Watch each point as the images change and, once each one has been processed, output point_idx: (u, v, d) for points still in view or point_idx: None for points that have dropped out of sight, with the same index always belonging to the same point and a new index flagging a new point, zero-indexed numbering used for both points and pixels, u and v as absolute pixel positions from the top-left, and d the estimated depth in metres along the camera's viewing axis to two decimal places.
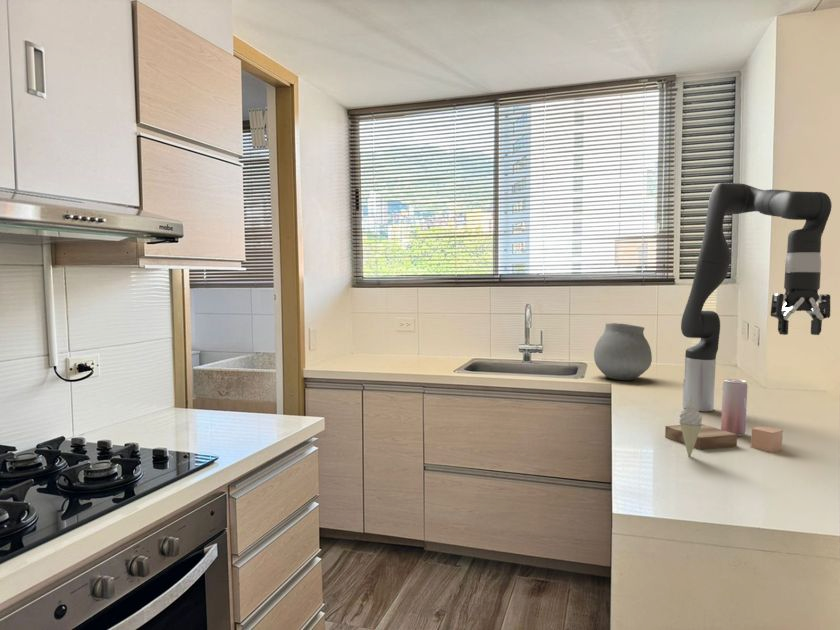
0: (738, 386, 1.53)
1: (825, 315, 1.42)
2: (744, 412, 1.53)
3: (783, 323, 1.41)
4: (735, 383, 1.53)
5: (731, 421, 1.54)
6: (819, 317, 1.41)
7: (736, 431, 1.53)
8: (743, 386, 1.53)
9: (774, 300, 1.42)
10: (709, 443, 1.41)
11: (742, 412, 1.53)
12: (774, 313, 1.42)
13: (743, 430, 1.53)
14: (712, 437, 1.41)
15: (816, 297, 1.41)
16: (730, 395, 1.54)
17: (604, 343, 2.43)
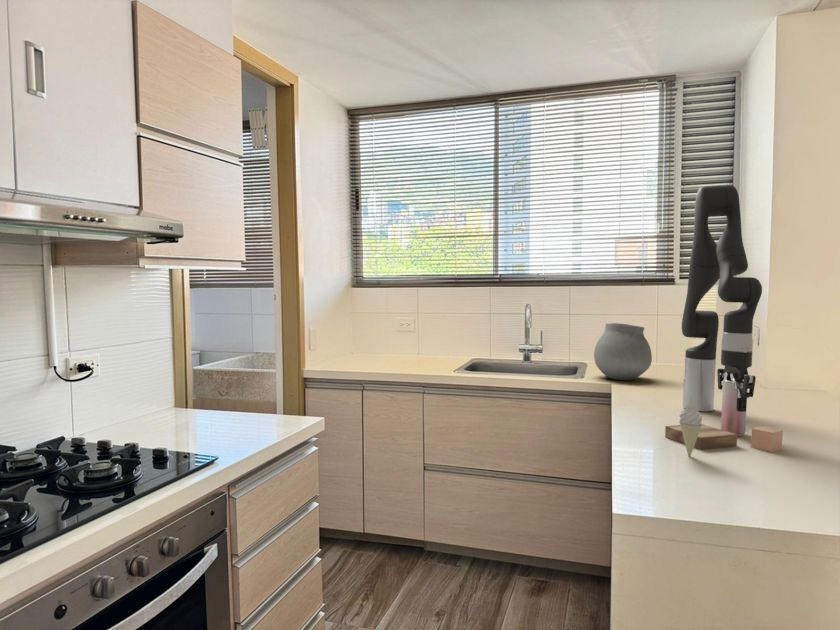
0: None
1: None
2: (744, 412, 1.53)
3: None
4: None
5: (731, 421, 1.54)
6: None
7: (736, 431, 1.53)
8: None
9: (749, 382, 1.49)
10: (709, 443, 1.41)
11: (742, 412, 1.53)
12: (748, 394, 1.50)
13: (743, 430, 1.53)
14: (712, 437, 1.41)
15: None
16: (730, 395, 1.54)
17: (604, 343, 2.43)
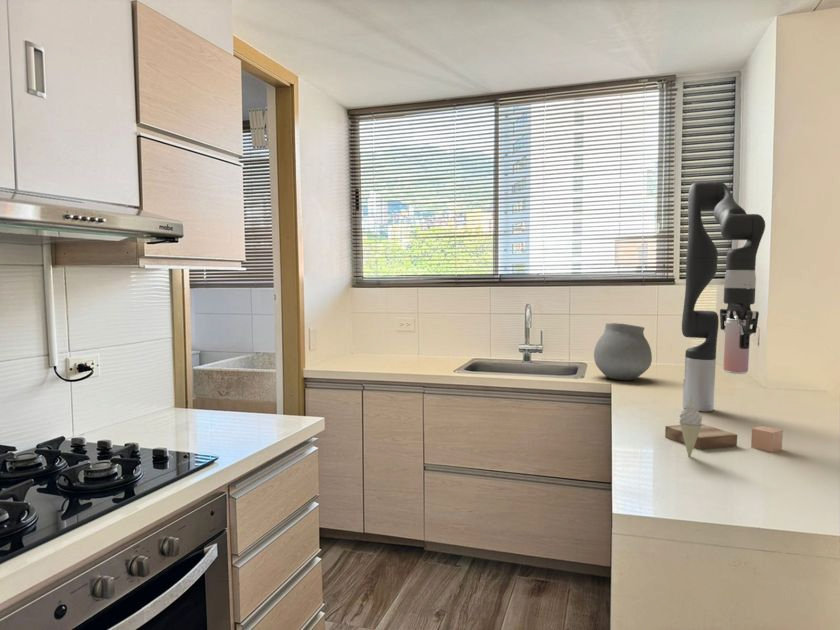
0: None
1: None
2: (747, 350, 1.52)
3: None
4: None
5: (734, 359, 1.53)
6: None
7: (739, 368, 1.52)
8: None
9: (752, 318, 1.48)
10: (709, 443, 1.41)
11: (744, 349, 1.52)
12: (751, 330, 1.49)
13: (746, 368, 1.53)
14: (712, 437, 1.41)
15: None
16: (733, 333, 1.53)
17: (604, 343, 2.43)
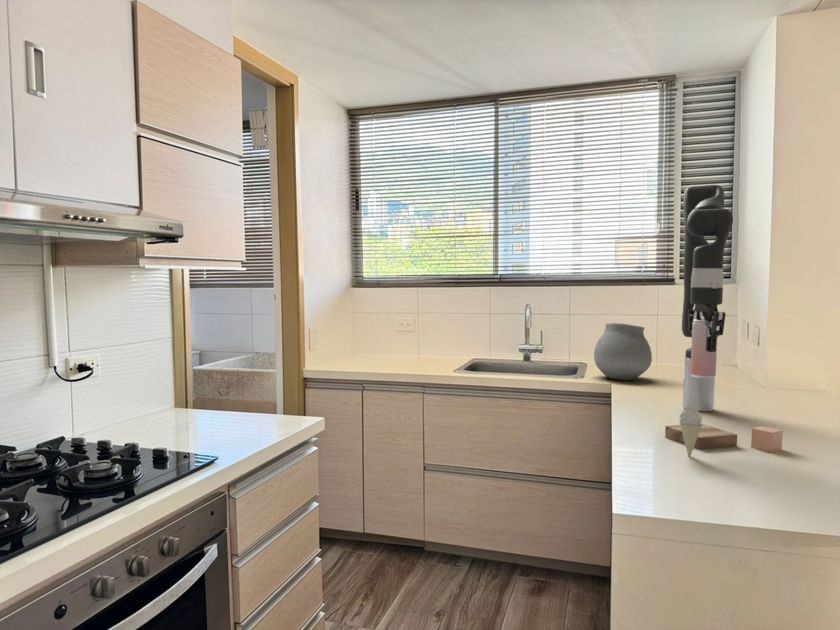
0: None
1: None
2: (714, 353, 1.44)
3: None
4: None
5: (701, 363, 1.44)
6: None
7: (706, 373, 1.44)
8: None
9: (718, 319, 1.39)
10: (709, 443, 1.41)
11: (711, 352, 1.43)
12: (718, 331, 1.40)
13: (713, 372, 1.44)
14: (712, 437, 1.41)
15: None
16: (700, 335, 1.44)
17: (604, 343, 2.43)
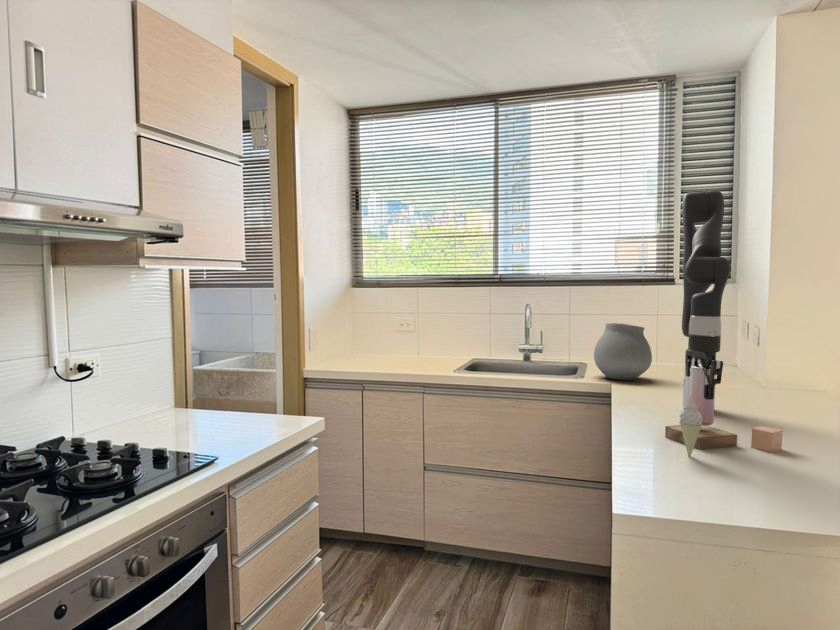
0: None
1: None
2: (712, 400, 1.44)
3: None
4: None
5: (699, 410, 1.45)
6: None
7: (704, 420, 1.44)
8: None
9: (716, 368, 1.40)
10: (709, 443, 1.41)
11: (709, 400, 1.44)
12: (716, 380, 1.41)
13: (711, 419, 1.45)
14: (712, 437, 1.41)
15: None
16: (697, 382, 1.45)
17: (604, 343, 2.43)
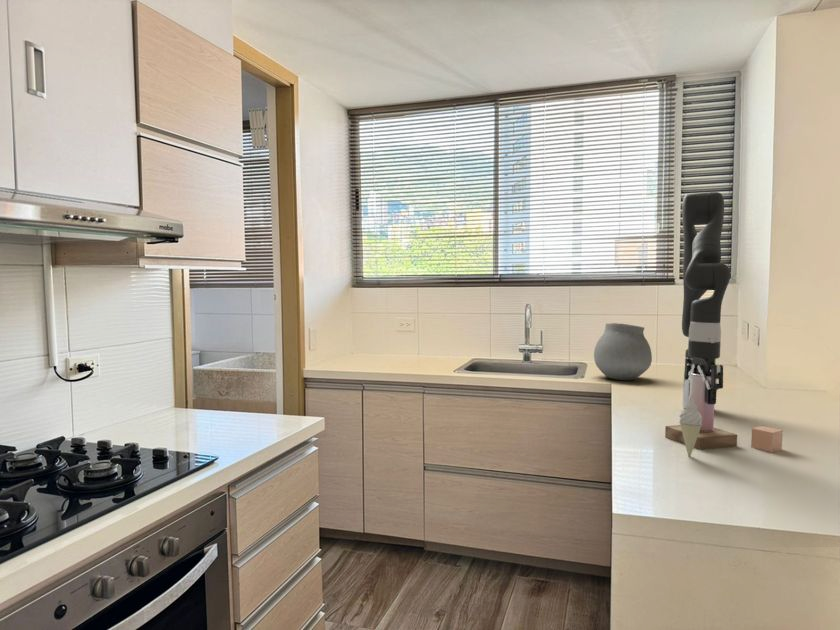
0: None
1: None
2: (712, 407, 1.45)
3: None
4: None
5: None
6: None
7: (704, 427, 1.44)
8: None
9: (717, 372, 1.40)
10: (709, 443, 1.41)
11: (709, 407, 1.44)
12: (718, 385, 1.40)
13: (711, 426, 1.45)
14: (712, 437, 1.41)
15: None
16: (697, 389, 1.45)
17: (604, 343, 2.43)
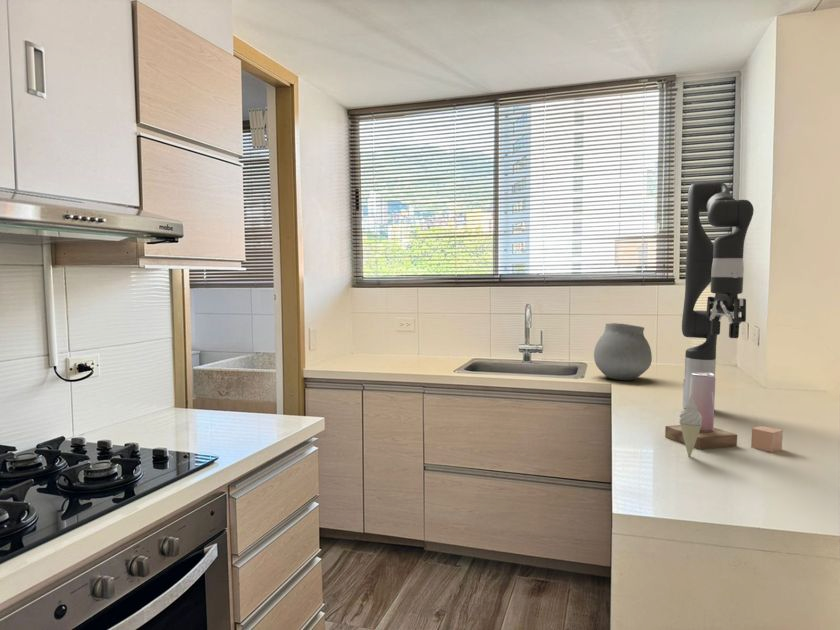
0: (705, 379, 1.44)
1: (716, 315, 1.55)
2: (712, 407, 1.45)
3: None
4: (702, 376, 1.44)
5: None
6: None
7: (704, 427, 1.44)
8: (710, 380, 1.44)
9: (739, 305, 1.42)
10: (709, 443, 1.41)
11: (709, 407, 1.44)
12: (741, 318, 1.42)
13: (711, 426, 1.45)
14: (712, 437, 1.41)
15: None
16: (697, 389, 1.45)
17: (604, 343, 2.43)
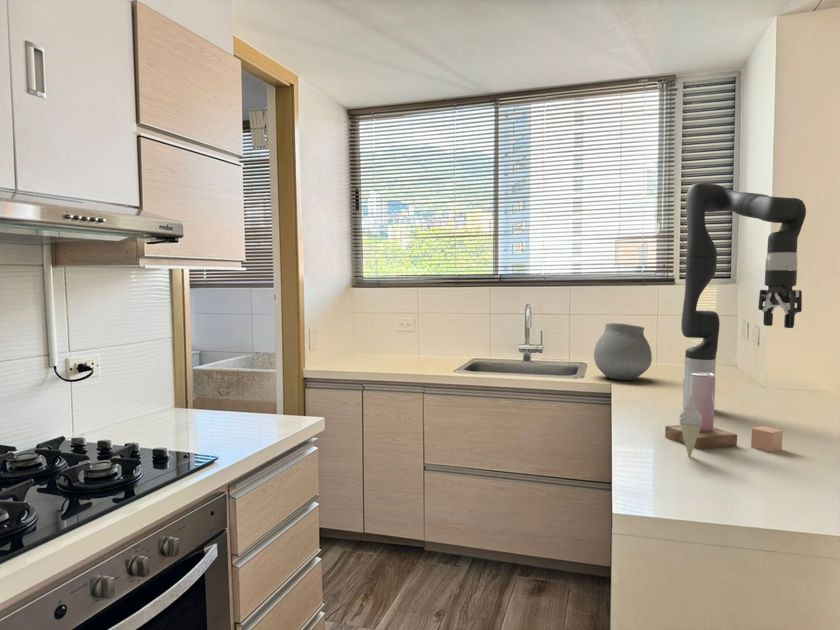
0: (705, 379, 1.44)
1: None
2: (712, 407, 1.45)
3: None
4: (702, 376, 1.44)
5: None
6: None
7: (704, 427, 1.44)
8: (710, 380, 1.44)
9: (796, 296, 1.50)
10: (709, 443, 1.41)
11: (709, 407, 1.44)
12: (797, 309, 1.50)
13: (711, 426, 1.45)
14: (712, 437, 1.41)
15: None
16: (697, 389, 1.45)
17: (604, 343, 2.43)
